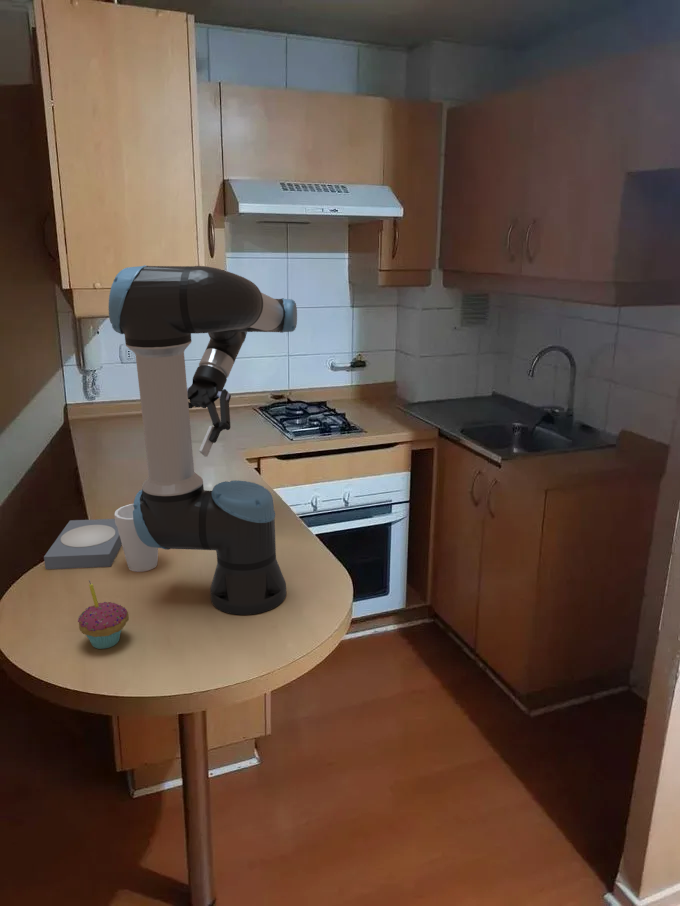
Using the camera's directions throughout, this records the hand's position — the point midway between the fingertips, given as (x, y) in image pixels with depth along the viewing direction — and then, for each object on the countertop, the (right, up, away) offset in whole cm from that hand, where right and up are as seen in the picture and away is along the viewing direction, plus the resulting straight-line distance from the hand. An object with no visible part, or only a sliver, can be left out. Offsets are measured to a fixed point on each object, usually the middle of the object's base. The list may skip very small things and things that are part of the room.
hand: (178, 450), depth 161 cm
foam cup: (-7, -26, -5) cm, 27 cm away
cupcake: (-5, -35, -33) cm, 49 cm away
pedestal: (-22, -23, +4) cm, 32 cm away
